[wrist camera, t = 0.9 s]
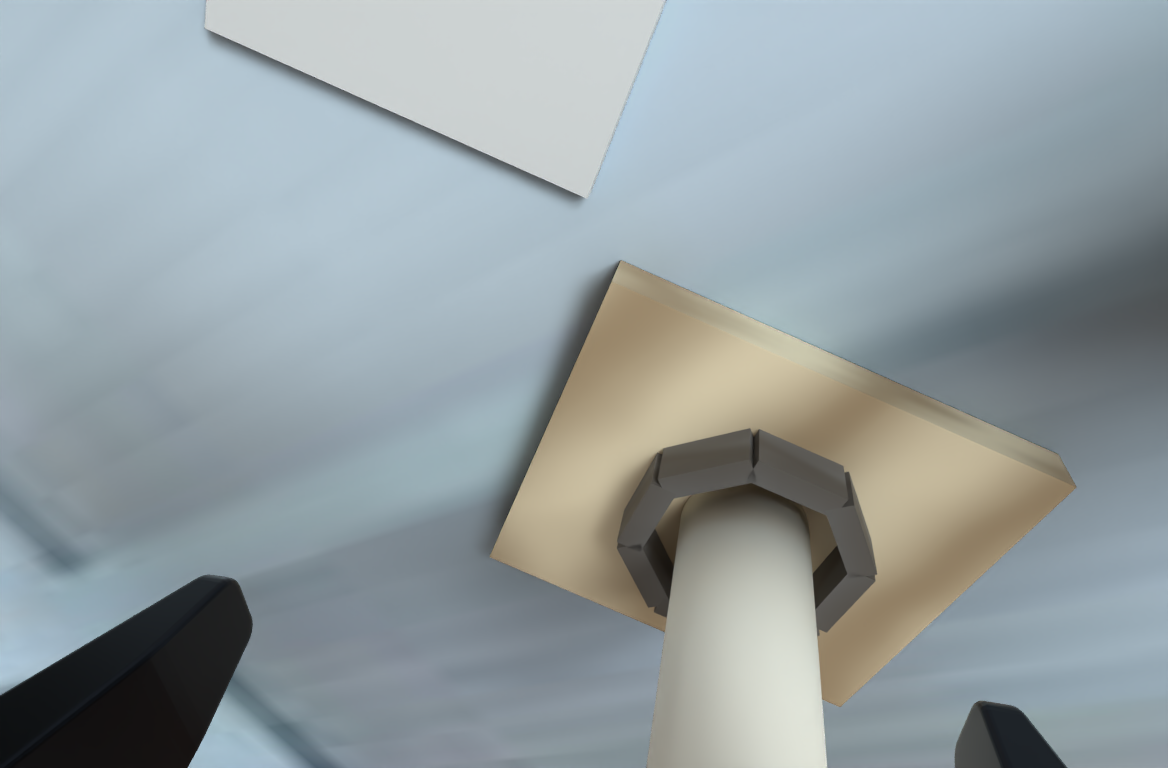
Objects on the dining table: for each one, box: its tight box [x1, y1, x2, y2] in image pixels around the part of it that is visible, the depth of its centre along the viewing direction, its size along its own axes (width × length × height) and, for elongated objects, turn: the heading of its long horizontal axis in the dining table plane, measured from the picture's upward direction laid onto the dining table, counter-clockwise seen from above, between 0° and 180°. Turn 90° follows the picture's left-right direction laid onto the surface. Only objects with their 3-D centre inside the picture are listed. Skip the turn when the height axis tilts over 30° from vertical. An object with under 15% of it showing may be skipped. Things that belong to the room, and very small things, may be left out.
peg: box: [646, 483, 827, 768], centre depth 18 cm, size 4×4×12 cm
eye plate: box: [490, 261, 1076, 707], centre depth 23 cm, size 14×12×3 cm
